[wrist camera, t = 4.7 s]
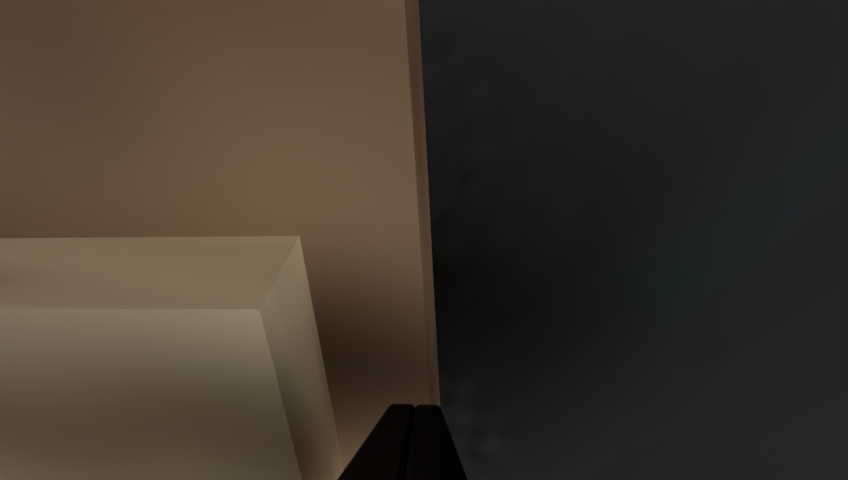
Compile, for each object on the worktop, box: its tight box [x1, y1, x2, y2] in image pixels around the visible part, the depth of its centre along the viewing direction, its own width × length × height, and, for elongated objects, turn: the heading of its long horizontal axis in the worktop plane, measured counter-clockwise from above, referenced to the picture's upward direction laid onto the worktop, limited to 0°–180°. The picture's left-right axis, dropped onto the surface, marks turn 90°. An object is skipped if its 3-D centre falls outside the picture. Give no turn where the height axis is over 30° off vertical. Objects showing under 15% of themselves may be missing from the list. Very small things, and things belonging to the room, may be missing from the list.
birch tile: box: [0, 236, 344, 480], centre depth 10 cm, size 6×8×2 cm
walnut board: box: [0, 0, 440, 469], centre depth 12 cm, size 18×12×2 cm, turn 3°
